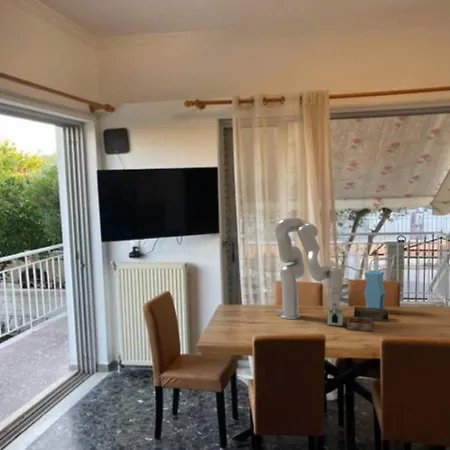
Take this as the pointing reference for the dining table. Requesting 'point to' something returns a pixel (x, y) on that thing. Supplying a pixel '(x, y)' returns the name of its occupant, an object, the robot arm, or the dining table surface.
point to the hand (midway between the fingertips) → (335, 320)
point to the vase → (374, 289)
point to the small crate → (340, 318)
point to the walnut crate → (359, 324)
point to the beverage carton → (372, 313)
